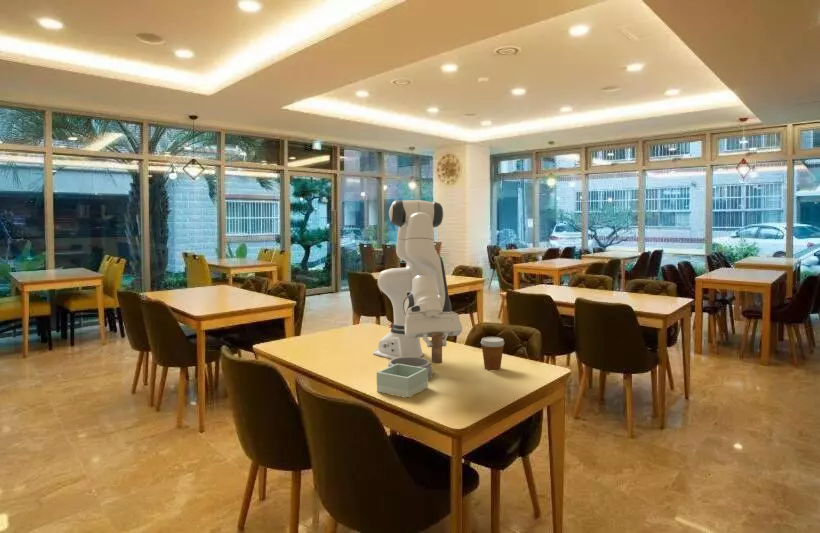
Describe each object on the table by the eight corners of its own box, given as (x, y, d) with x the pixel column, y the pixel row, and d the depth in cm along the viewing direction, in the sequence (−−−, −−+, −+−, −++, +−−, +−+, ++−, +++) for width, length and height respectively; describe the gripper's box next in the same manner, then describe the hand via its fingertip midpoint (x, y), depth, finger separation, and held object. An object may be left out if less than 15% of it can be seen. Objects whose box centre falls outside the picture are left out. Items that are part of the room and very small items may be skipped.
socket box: (376, 391, 184) (376, 372, 184) (397, 381, 195) (397, 363, 195) (408, 398, 177) (407, 378, 177) (427, 387, 188) (427, 368, 188)
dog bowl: (405, 365, 217) (405, 353, 217) (441, 373, 206) (441, 360, 205) (377, 375, 204) (377, 362, 204) (414, 385, 193) (414, 370, 192)
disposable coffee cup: (486, 373, 205) (486, 342, 204) (476, 366, 214) (476, 337, 213) (508, 370, 208) (508, 341, 206) (498, 364, 217) (498, 335, 216)
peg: (429, 362, 179) (429, 334, 178) (434, 360, 182) (434, 332, 182) (438, 364, 178) (439, 335, 177) (443, 361, 181) (444, 333, 180)
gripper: (455, 316, 192) (463, 349, 184) (400, 318, 187) (407, 352, 179) (459, 306, 187) (468, 339, 179) (403, 308, 183) (410, 342, 174)
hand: (437, 346), depth 179 cm, fingers closed on peg, 4 cm apart
